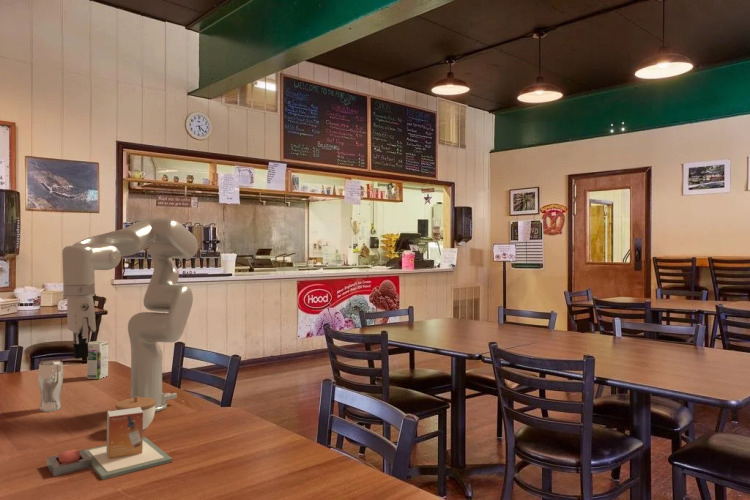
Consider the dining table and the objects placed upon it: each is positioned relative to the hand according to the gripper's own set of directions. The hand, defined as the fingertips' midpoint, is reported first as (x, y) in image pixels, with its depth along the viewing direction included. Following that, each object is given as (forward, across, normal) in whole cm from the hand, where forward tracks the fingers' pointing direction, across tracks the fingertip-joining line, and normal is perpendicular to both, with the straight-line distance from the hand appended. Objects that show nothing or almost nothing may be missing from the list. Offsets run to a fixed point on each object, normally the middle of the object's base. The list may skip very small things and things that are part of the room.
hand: (81, 357), depth 146 cm
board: (+22, -21, -4) cm, 31 cm away
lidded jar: (+24, 0, -14) cm, 27 cm away
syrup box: (+26, +72, -24) cm, 80 cm away
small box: (+22, -20, -4) cm, 30 cm away
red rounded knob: (+22, -18, +8) cm, 29 cm away
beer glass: (+24, +37, 0) cm, 44 cm away
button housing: (+22, -18, +8) cm, 29 cm away
